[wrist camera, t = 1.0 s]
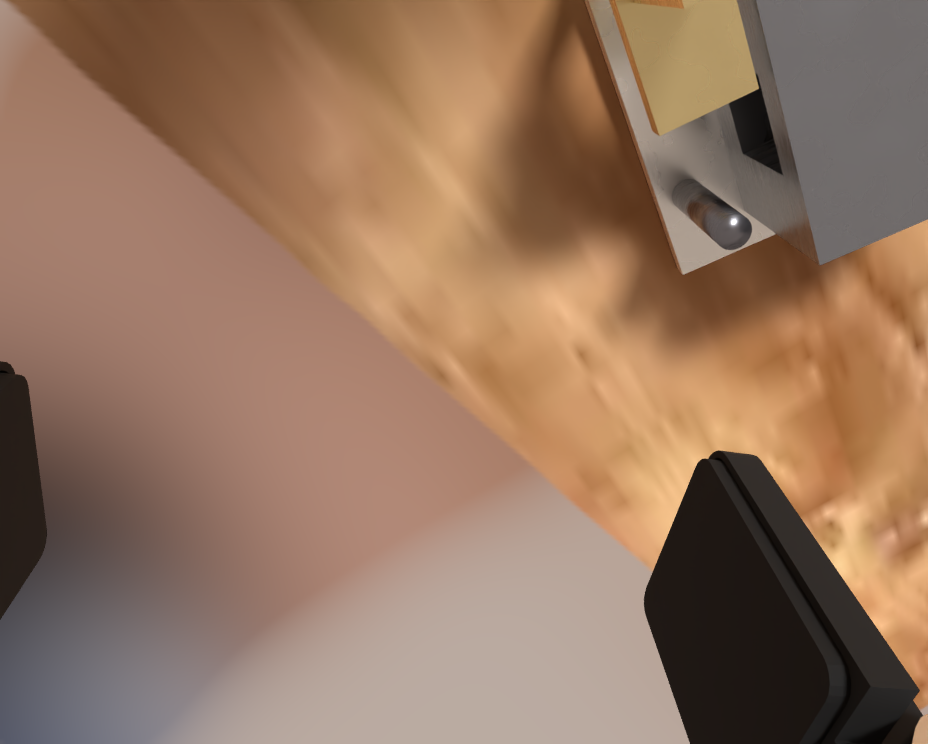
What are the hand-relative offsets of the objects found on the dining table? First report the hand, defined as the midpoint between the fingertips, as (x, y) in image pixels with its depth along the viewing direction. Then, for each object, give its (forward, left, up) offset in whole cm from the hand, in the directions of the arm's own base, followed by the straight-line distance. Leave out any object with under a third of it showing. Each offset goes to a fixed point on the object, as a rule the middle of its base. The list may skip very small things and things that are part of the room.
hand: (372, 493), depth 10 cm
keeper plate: (-8, +8, -21) cm, 24 cm away
